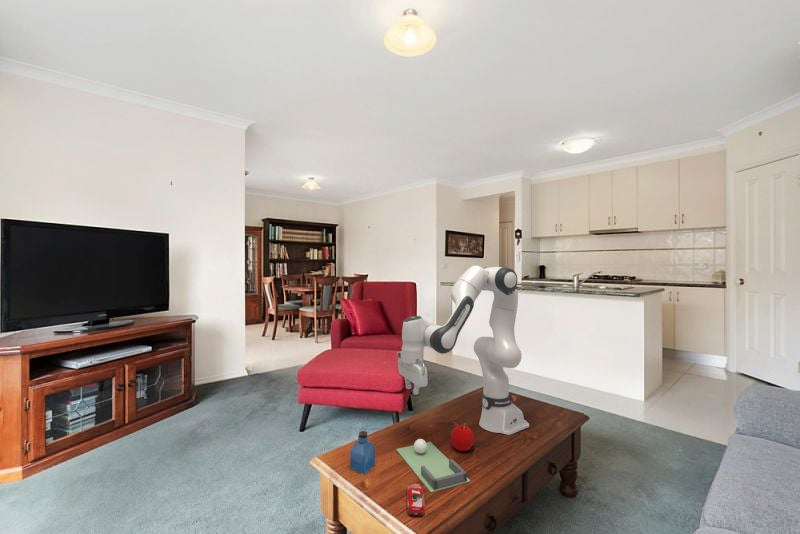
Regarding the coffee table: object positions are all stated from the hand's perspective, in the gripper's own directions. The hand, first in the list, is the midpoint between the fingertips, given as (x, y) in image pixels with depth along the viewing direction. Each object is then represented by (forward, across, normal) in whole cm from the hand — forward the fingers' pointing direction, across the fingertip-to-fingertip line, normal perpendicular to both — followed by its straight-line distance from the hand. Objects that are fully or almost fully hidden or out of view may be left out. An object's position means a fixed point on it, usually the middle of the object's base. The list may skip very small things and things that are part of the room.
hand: (412, 391), depth 141 cm
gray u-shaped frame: (+21, -25, 0) cm, 33 cm away
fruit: (+21, -11, -17) cm, 29 cm away
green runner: (+21, -16, 0) cm, 27 cm away
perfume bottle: (+22, -8, +23) cm, 32 cm away
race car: (+22, -32, +14) cm, 41 cm away
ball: (+18, -8, 0) cm, 20 cm away
